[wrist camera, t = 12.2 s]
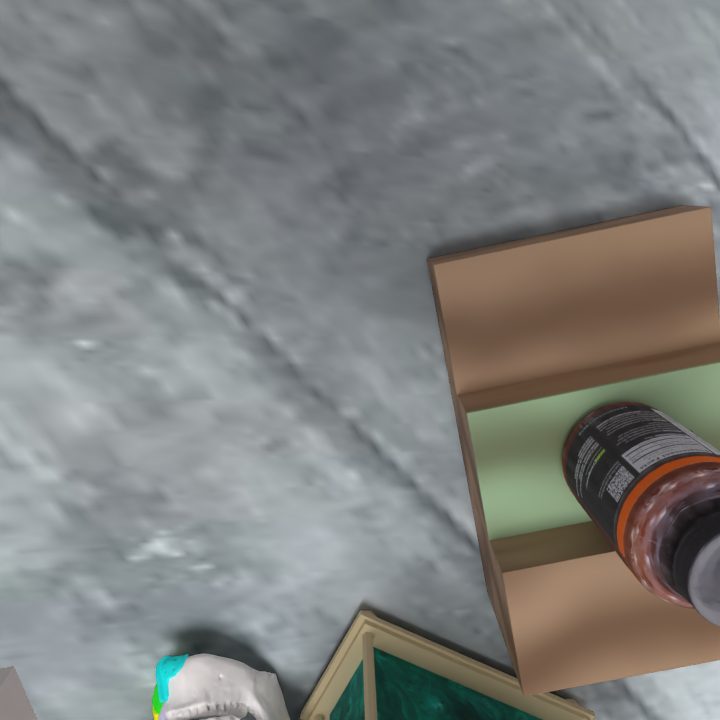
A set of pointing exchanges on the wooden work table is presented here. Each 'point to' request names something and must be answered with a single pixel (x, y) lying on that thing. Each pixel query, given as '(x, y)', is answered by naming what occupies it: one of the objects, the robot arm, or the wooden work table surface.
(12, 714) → the robot arm
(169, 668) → the grey piece
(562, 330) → the step stand
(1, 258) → the wooden work table surface
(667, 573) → the supplement bottle
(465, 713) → the carriage clock
